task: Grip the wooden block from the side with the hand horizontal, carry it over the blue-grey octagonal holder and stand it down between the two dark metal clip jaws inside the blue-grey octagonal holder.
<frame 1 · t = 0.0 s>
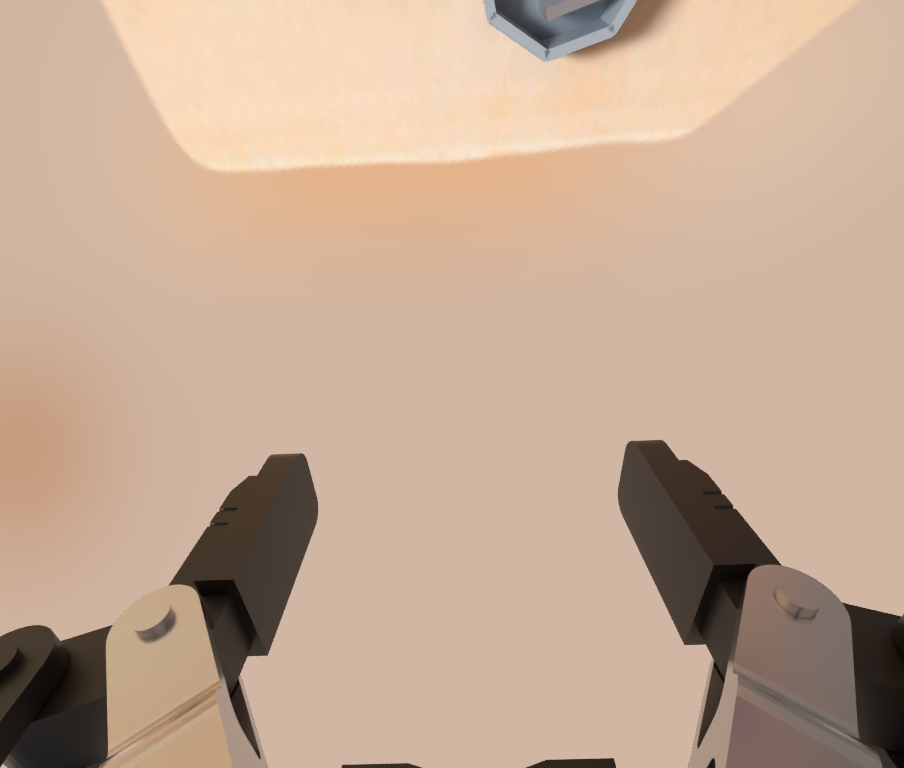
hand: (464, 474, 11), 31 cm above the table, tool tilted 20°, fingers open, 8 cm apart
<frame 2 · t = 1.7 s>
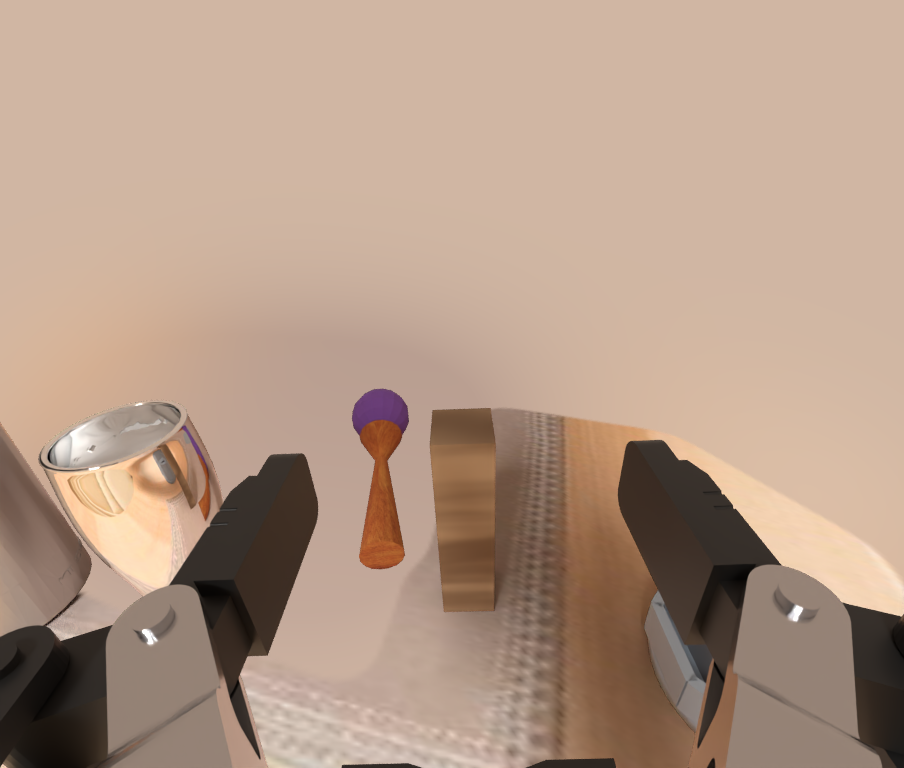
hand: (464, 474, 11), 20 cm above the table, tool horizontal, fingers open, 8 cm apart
blue-grey octagonal holder: (745, 671, 24), on the table
wooden block: (468, 588, 30), on the table
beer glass: (208, 607, 30), on the table
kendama: (384, 483, 41), on the table
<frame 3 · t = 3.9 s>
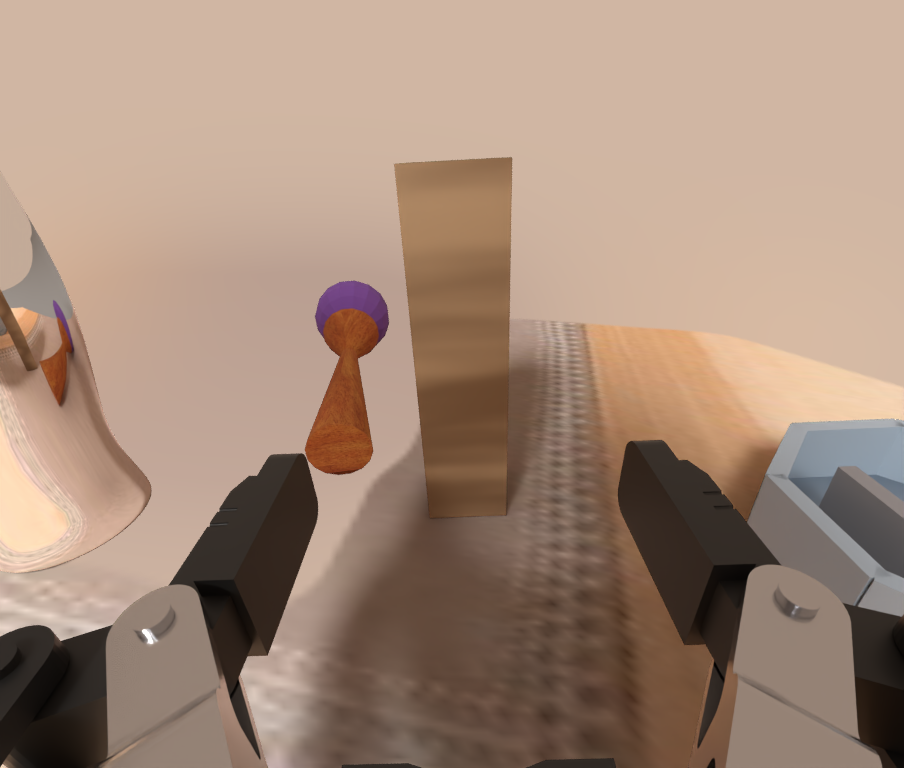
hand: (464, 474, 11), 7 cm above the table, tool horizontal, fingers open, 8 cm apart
wooden block: (466, 490, 20), on the table
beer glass: (79, 521, 20), on the table
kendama: (354, 389, 31), on the table
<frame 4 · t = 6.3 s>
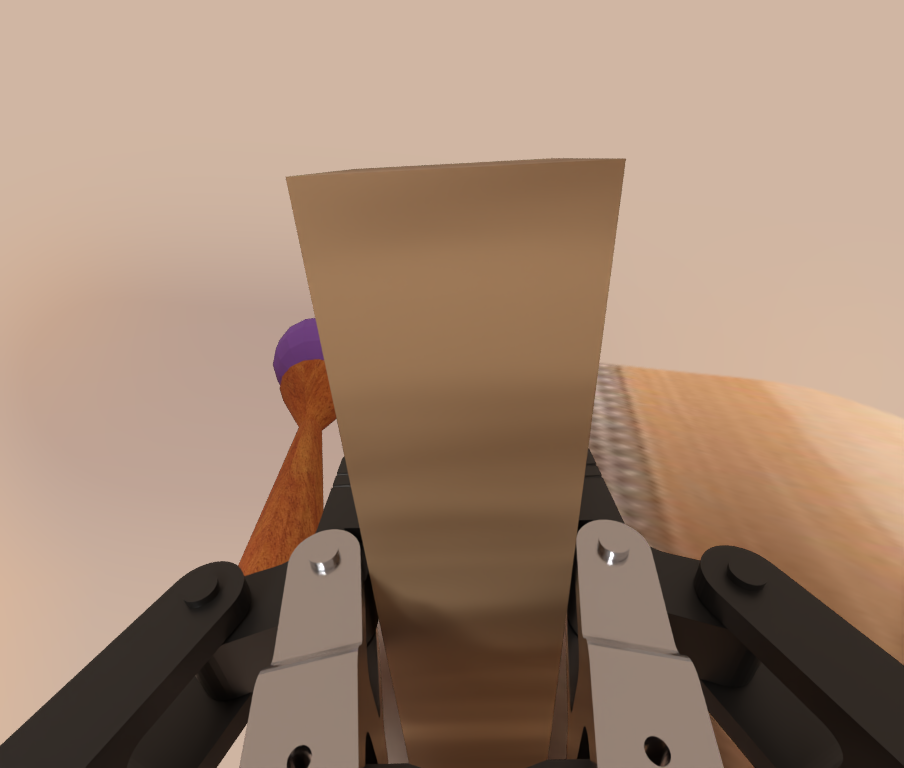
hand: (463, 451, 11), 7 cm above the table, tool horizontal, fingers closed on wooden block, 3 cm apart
wooden block: (475, 703, 12), on the table, touching gripper
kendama: (320, 471, 23), on the table
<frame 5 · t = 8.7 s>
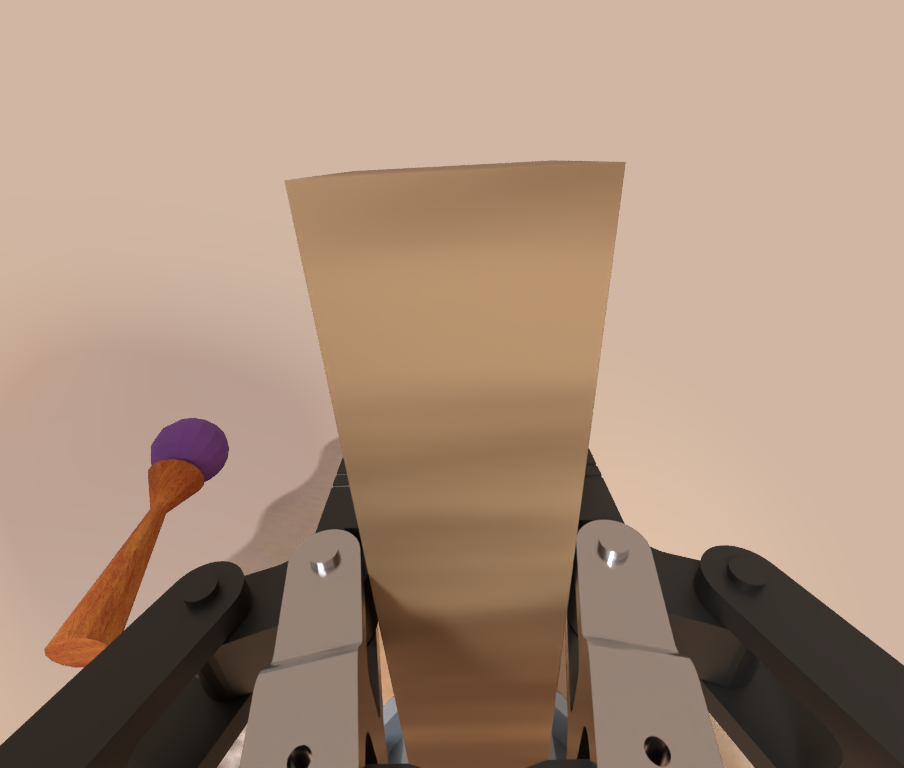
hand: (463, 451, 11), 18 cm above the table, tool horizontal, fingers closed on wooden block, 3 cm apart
wooden block: (475, 705, 12), point 11 cm above the table, touching gripper
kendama: (169, 537, 33), on the table
when the fingers open (10 cm above the table, at t = 11.0 s): wooden block drops 2 cm, resting on blue-grey octagonal holder.
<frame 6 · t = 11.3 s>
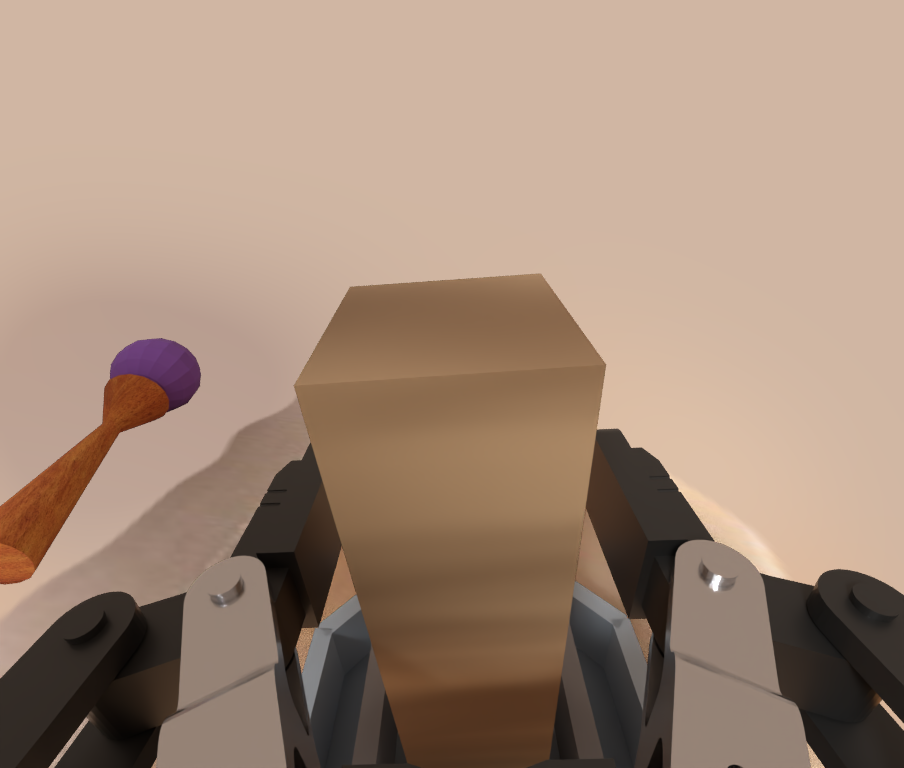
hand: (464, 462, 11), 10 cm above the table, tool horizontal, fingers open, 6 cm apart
blue-grey octagonal holder: (476, 751, 14), on the table
wooden block: (477, 732, 13), point 1 cm above the table, touching blue-grey octagonal holder
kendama: (125, 461, 29), on the table
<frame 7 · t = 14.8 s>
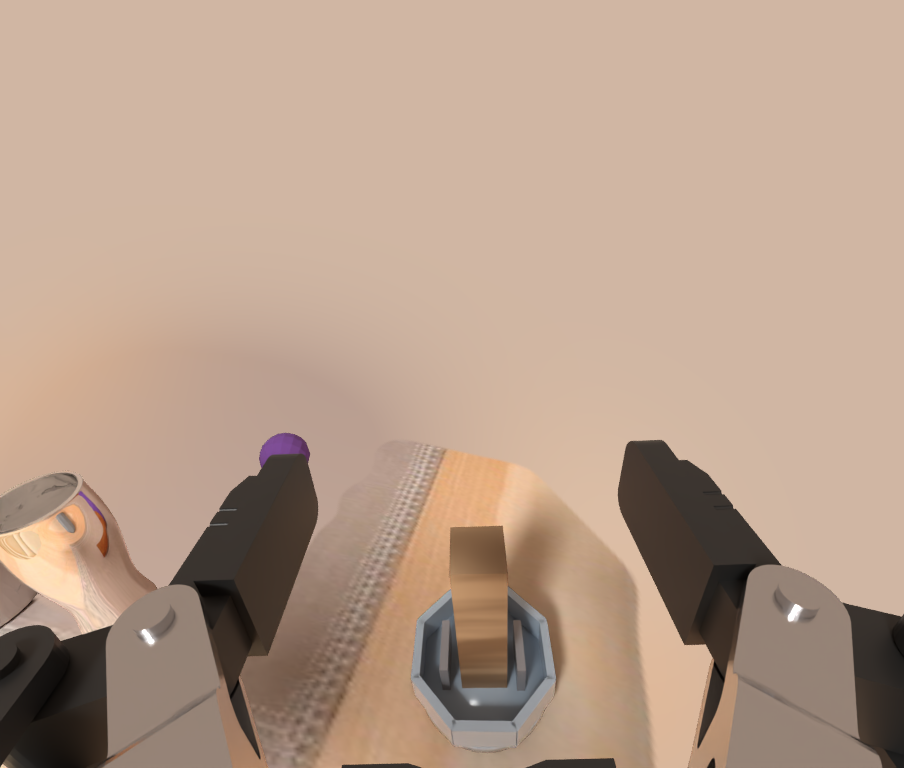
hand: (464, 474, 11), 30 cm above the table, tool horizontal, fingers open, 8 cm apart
blue-grey octagonal holder: (483, 670, 34), on the table
wooden block: (483, 663, 33), point 1 cm above the table, touching blue-grey octagonal holder
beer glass: (123, 612, 40), on the table
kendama: (278, 516, 50), on the table
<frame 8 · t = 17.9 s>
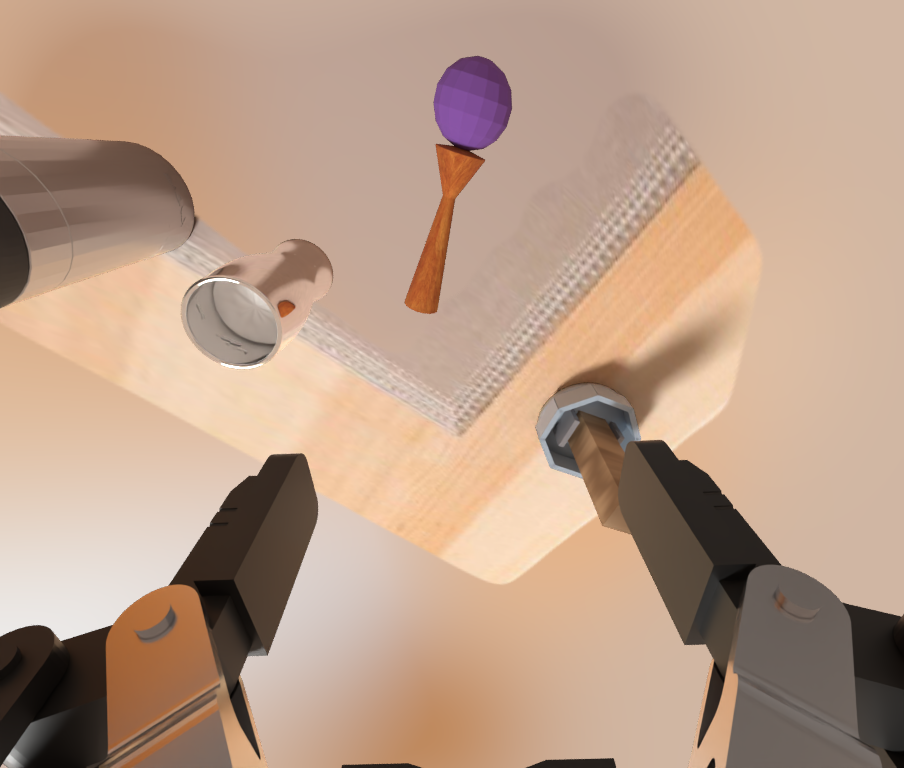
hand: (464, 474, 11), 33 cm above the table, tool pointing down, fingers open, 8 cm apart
blue-grey octagonal holder: (581, 421, 49), on the table
wooden block: (584, 426, 49), point 1 cm above the table, touching blue-grey octagonal holder
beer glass: (302, 270, 41), on the table
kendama: (448, 198, 38), on the table
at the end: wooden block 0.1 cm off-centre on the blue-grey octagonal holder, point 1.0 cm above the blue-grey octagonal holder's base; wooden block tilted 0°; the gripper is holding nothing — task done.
